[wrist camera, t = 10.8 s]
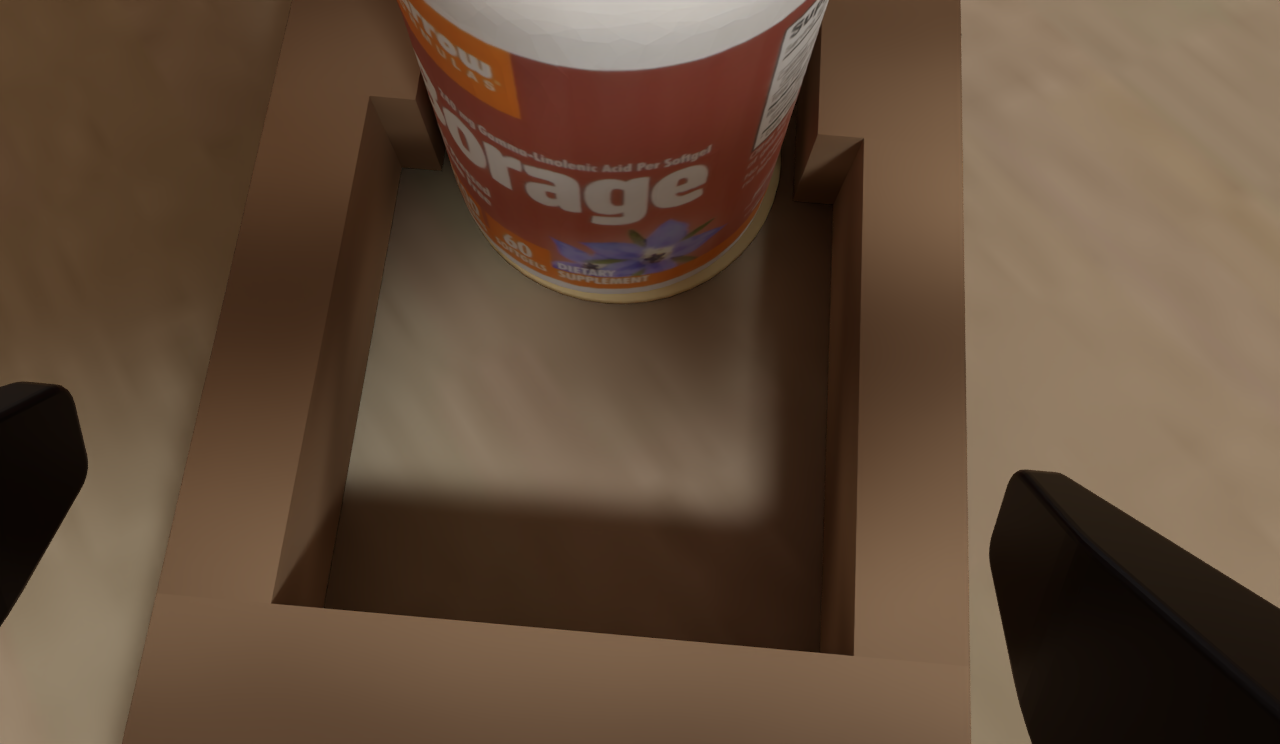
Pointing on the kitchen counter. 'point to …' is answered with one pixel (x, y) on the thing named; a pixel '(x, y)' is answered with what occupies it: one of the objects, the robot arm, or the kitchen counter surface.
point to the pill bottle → (613, 125)
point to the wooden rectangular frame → (355, 257)
